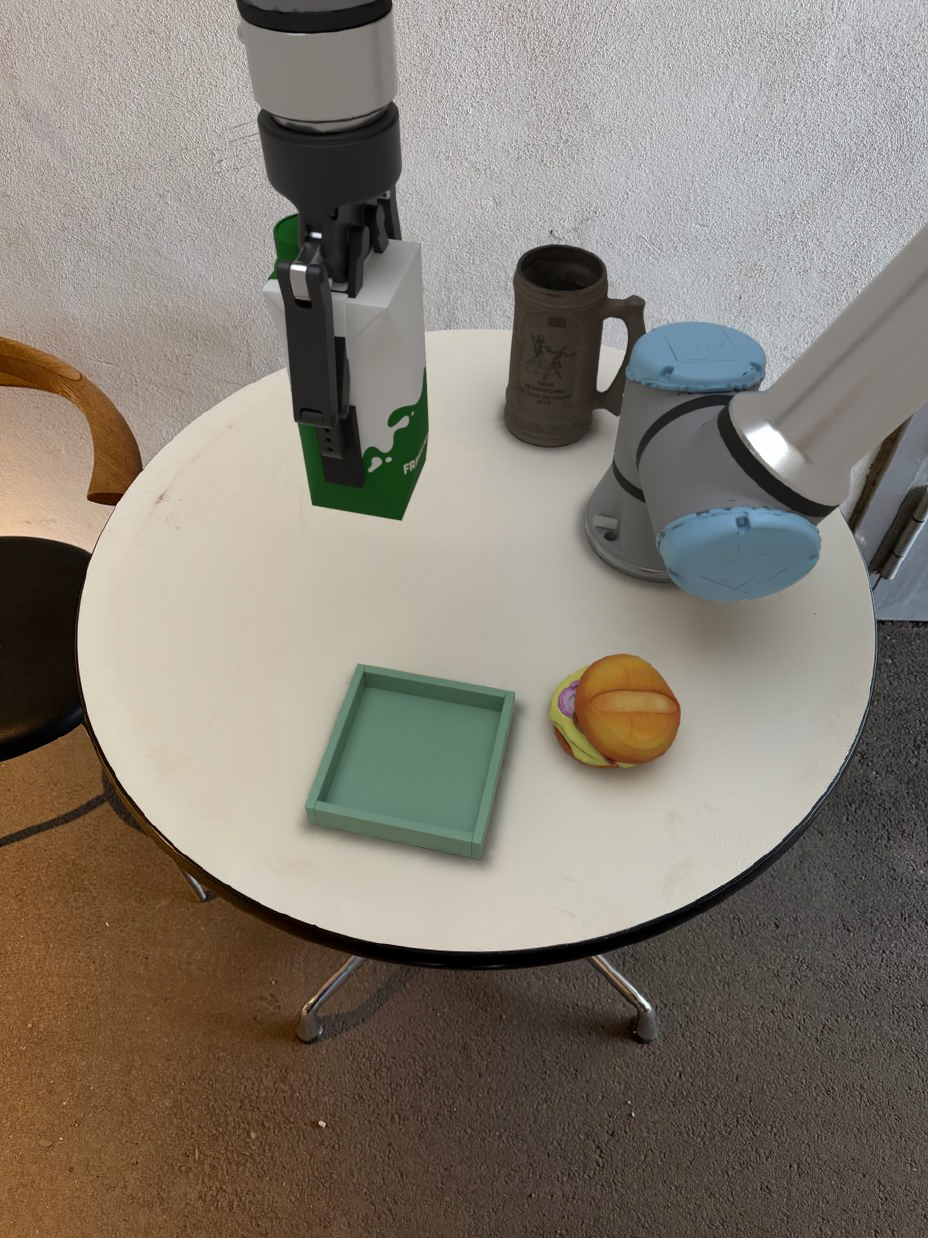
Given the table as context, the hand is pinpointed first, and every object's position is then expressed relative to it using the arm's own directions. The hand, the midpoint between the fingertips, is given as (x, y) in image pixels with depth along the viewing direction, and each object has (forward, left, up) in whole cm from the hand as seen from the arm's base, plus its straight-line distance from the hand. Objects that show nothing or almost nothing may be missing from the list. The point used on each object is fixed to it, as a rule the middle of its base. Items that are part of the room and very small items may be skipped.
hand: (366, 438), depth 63 cm
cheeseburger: (-22, +5, -26) cm, 34 cm away
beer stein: (-12, -37, -26) cm, 46 cm away
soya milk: (0, 0, -5) cm, 5 cm away
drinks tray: (-6, +12, -26) cm, 29 cm away
